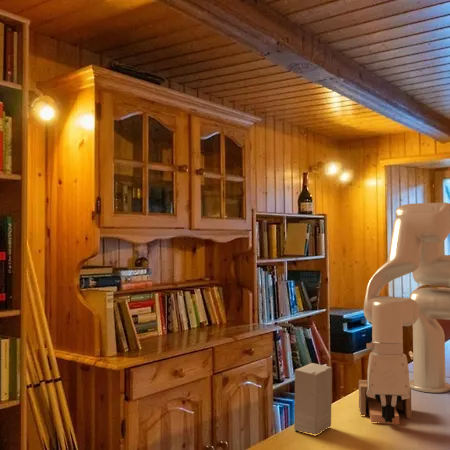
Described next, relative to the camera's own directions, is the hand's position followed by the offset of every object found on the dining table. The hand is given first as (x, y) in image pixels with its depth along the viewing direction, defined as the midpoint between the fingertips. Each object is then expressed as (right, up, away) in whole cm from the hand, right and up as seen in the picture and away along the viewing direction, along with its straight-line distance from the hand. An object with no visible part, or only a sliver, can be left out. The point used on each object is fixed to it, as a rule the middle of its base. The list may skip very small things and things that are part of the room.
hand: (388, 420), depth 140 cm
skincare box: (-19, -2, -3) cm, 20 cm away
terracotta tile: (+1, -2, +8) cm, 8 cm away
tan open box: (+2, -2, +10) cm, 11 cm away
